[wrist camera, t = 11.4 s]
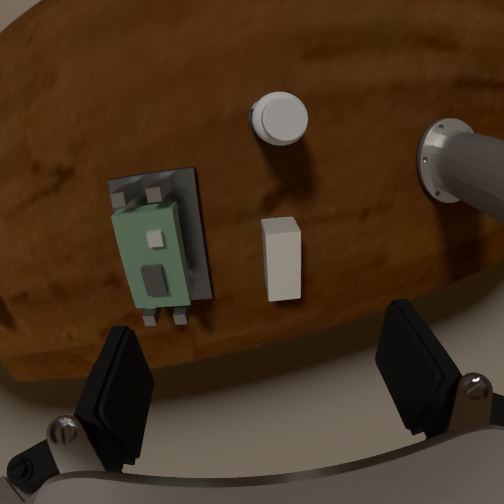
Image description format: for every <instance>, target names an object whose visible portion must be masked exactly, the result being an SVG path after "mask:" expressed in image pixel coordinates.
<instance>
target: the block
mask: <svg viewBox="0 0 504 504" xmlns="http://www.w3.org/2000/svg"><path fill="white" fill-rule="evenodd" d="M261 221H262V237H263V253H264V270H265V283H266V288H267V294H268V299H269V301H278V300H288V299H297V298H301V231H300V229H299V227H298V225H297V223H296V222H295V220H294V218H293V217H283V218H271V219H261Z"/></svg>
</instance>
